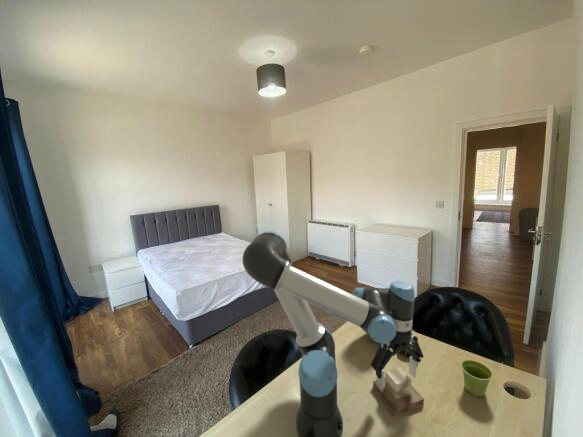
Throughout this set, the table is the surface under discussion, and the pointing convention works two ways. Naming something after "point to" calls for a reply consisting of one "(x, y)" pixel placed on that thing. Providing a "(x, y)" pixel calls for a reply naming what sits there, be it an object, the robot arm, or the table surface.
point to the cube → (398, 383)
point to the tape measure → (407, 351)
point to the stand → (401, 403)
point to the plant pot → (476, 377)
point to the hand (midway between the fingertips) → (396, 379)
